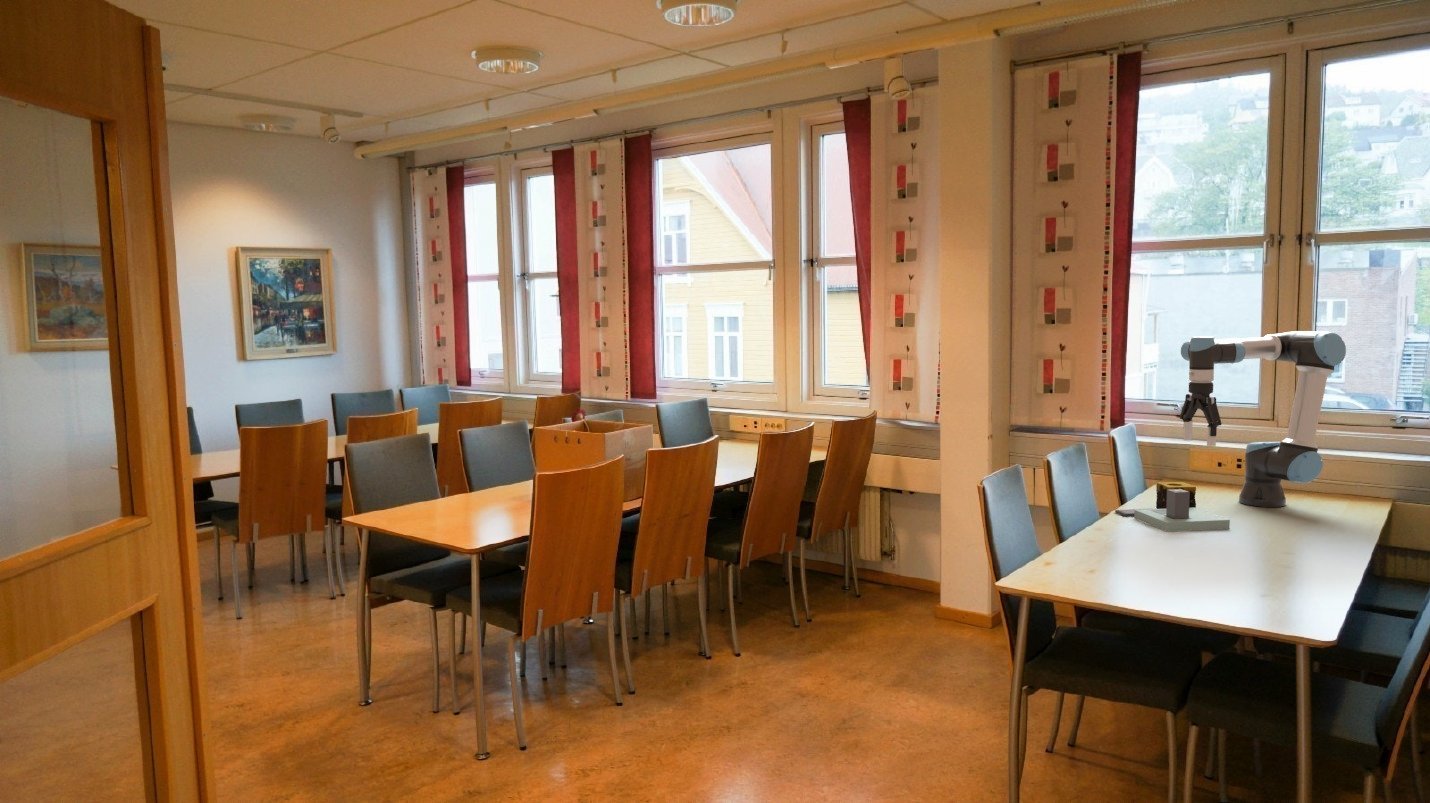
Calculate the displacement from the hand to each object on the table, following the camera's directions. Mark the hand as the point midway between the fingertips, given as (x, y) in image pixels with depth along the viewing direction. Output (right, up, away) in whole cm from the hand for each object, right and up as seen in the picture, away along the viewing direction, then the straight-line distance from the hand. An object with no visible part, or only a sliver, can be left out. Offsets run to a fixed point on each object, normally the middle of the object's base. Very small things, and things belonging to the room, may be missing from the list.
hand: (1199, 443), depth 328 cm
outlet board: (-8, -27, -3) cm, 29 cm away
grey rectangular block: (-11, -28, -6) cm, 30 cm away
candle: (-1, -26, +15) cm, 30 cm away
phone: (-15, -26, +12) cm, 33 cm away
